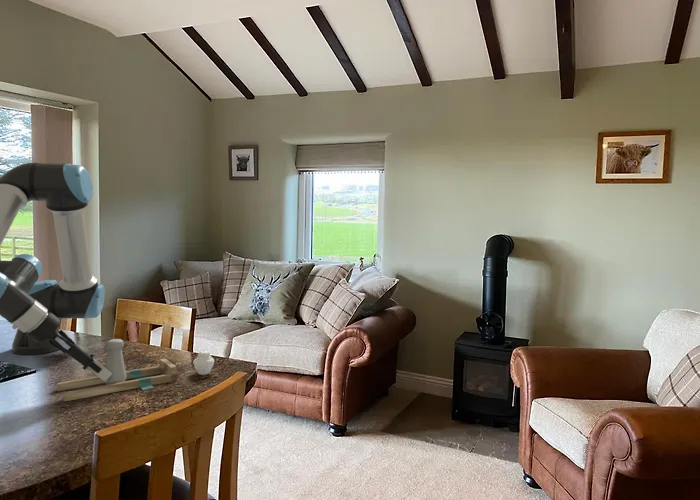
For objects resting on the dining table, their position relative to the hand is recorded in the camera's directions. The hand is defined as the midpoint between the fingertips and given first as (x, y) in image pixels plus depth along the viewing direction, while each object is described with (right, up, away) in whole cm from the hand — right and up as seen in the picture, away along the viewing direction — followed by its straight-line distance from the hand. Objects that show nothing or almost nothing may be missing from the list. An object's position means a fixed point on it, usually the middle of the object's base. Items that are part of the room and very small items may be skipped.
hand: (108, 377), depth 141 cm
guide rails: (+1, -3, +4) cm, 5 cm away
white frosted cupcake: (+22, -3, +16) cm, 27 cm away
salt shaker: (0, -3, +3) cm, 5 cm away
